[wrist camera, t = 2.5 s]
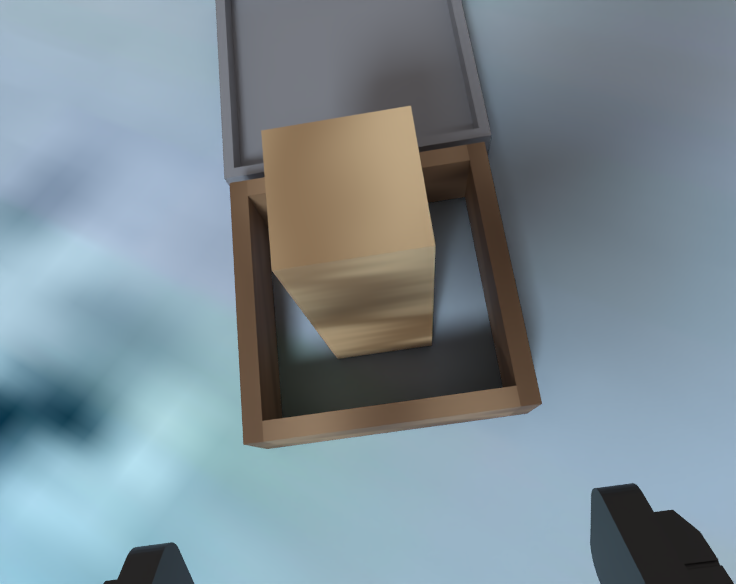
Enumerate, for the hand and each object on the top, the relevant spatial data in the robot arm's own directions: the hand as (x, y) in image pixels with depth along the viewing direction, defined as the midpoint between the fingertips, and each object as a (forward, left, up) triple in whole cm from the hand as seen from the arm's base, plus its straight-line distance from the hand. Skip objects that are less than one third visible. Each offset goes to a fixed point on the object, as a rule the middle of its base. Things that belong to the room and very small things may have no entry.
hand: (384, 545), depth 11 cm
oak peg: (0, -9, -14) cm, 17 cm away
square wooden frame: (0, -9, -14) cm, 17 cm away
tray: (0, -23, -14) cm, 27 cm away
